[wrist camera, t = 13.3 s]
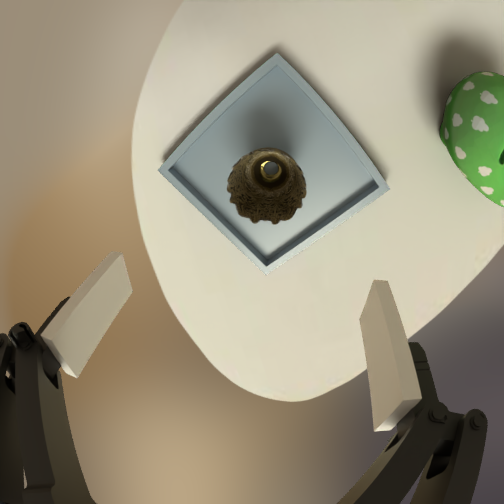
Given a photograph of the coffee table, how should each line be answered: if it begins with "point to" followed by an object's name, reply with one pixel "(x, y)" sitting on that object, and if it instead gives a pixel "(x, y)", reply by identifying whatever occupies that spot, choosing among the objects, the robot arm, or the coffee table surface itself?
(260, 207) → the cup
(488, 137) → the piggy bank
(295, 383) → the coffee table surface
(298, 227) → the tray
